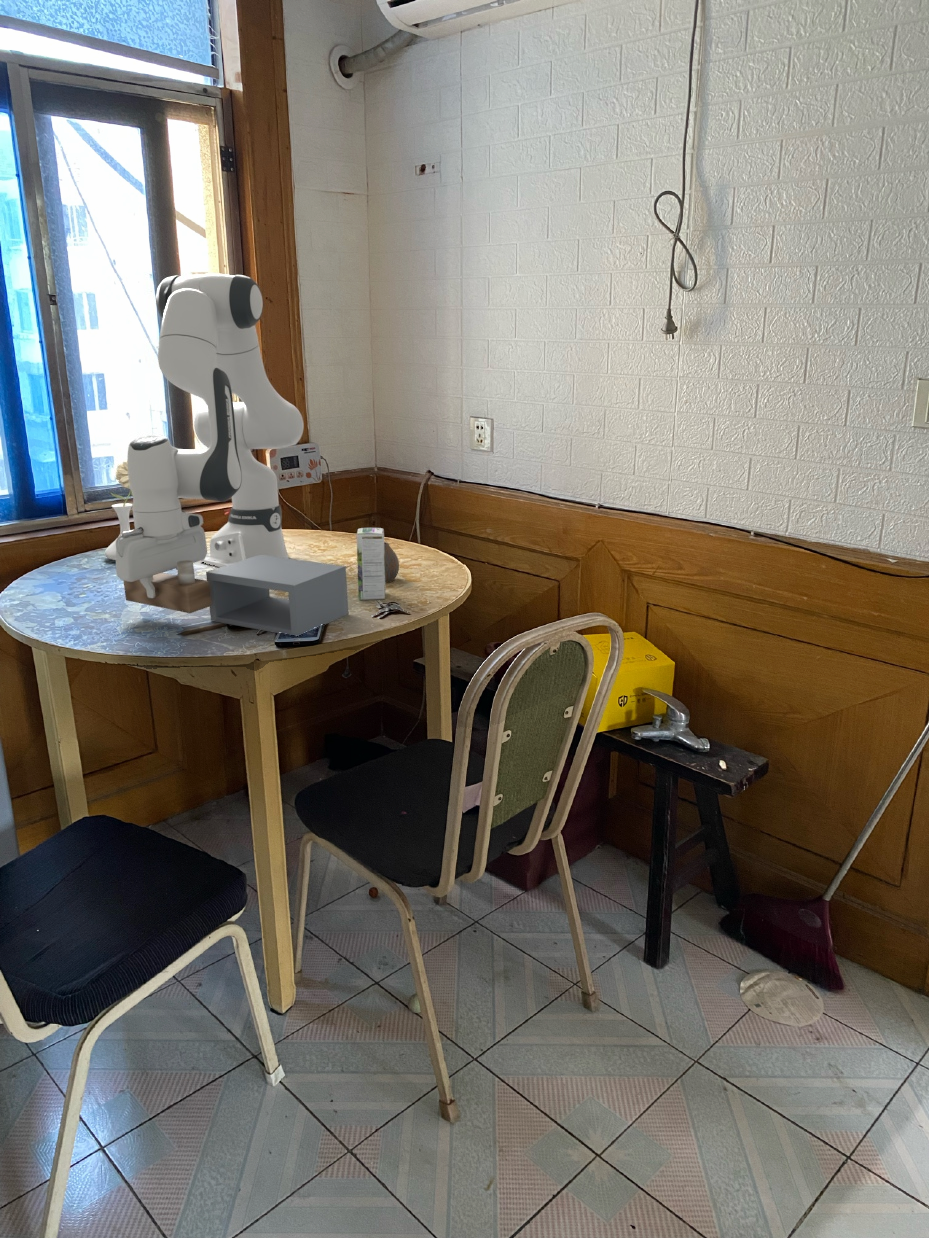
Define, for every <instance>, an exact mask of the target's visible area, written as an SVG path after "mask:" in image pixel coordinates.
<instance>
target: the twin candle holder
mask: <svg viewBox="0 0 929 1238" xmlns="http://www.w3.org/2000/svg"><path fill="white" fill-rule="evenodd" d="M194 567H195V566H194V563H193V561H190V560H184V561H179V562H177V570H176V571H177V574H178V575H177V574H171V573H166V572H163V573H159V574H156V575H153V581H151V583H152V584H153V586H154V587H156V588H158V589H159V592H158V593H159V596H158V597H155V598H148V596H147V591H146V588H145V587H144V586H143V585H142V583H141V582H140V580H137V581H134V582H129V581H123V580H122V581H123V587H124V594H125V601H128V602H131V603H138V604H143V605H147V606H152V607H158V608H162V609H167V610H172V611H176V612H181V613H186V614H193V613H196V612H198V611H200V610H204V609H207V608H210V606H212V605H211V596H210V586H209V581H207V579H206V580H205V579H199V578H195V576H196V575H195V569H194Z"/></svg>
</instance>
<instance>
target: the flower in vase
mask: <svg viewBox="0 0 929 1238" xmlns="http://www.w3.org/2000/svg"><path fill="white" fill-rule="evenodd" d="M115 480H117V481H118V482H117V483H119V484H120V486H121V487H122V488H126V489H129V492H128V493H129V494H128V495H127V497H126V498H125V497H124V496H122V495H119V494H116V493H112V492H111V491H110V495H112V496H113V497H115V498H117V499H122V500H124V503H116V504H112V505H111V507H112V509H114V511H115V513H116V514H117V518H118V522H119V529H120V530H119V531H120V533H119V535H118V537H119V536H120V535H121V533H122V532H125V531H131V528H130V511H131V510H132V506H133V503H128V502H127V501H128V500H129V498H130V495H131V497H133V494H132V491H131V489H130V486H129V478H128V464H127V460H125V461H123V462H122V463H120V464H118V465H117V467H116V471H115ZM121 538H122V537H121ZM121 538H120V539H121ZM116 540H117V538H116V539H115V540H114V541H113V542H111V543H110V545H108V547H107V548H106V549H105V550H104V553H103V554H104V556H105V557H106V559H109V560H112V561H116Z"/></svg>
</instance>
